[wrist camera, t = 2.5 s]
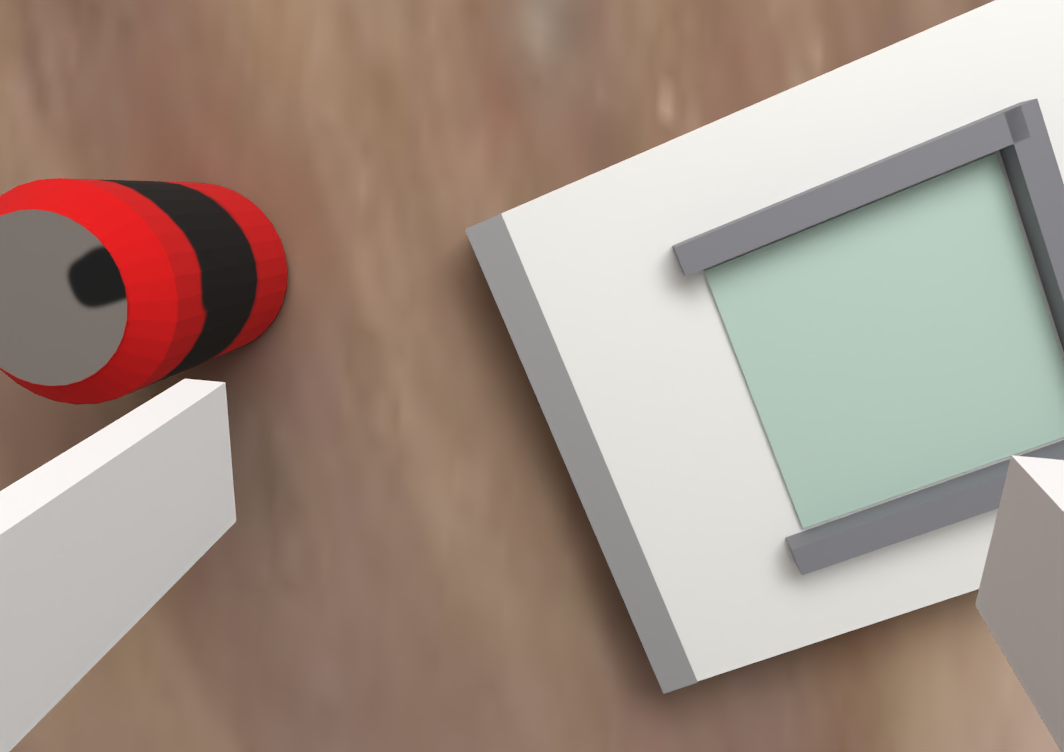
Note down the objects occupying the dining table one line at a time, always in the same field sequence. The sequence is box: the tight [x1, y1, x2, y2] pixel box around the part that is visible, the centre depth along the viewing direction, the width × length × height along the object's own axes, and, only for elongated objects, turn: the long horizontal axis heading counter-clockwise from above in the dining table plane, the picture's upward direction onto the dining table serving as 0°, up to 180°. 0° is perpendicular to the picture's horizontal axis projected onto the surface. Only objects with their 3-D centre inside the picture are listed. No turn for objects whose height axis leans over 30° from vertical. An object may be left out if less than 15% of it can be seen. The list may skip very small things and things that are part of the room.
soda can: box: [0, 178, 288, 404], centre depth 33 cm, size 8×8×12 cm
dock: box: [465, 0, 1064, 694], centre depth 36 cm, size 24×22×4 cm
